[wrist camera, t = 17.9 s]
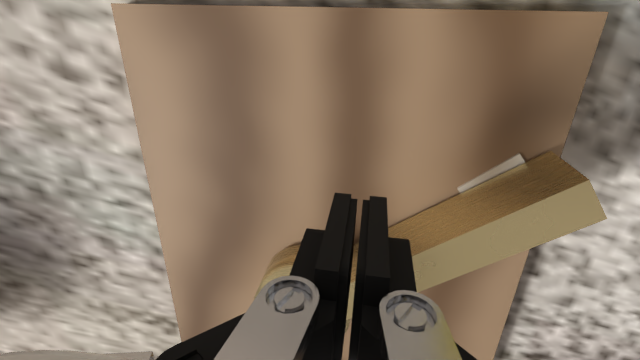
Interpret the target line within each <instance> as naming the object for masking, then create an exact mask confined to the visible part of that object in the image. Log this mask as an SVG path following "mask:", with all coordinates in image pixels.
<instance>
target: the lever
mask: <svg viewBox="0 0 640 360" xmlns="http://www.w3.org/2000/svg"><path fill="white" fill-rule="evenodd" d="M605 219H607V217H606V215H605V213H604V211H603V209H602V207H601V204H600V202H599V200H598V198H597V196H596V194H595V191H594V189H593V187H592V185H591V183H590V181H589V179H587V178H586V177H585V176H583V175H582V174H581V173H580V172H578V171H577V170H576V169H574V168H573V167H572V166H570V165H569V164H568V163H566V162H565V161H564V160H562V159H561V158H560V157H559V156H557V155H556V154H555V153H553V152H552V151H549V152H547V153H545V154H543V155H541V156H539V157H536V158H534V159H532V160H530V161H528V162H526V163H524V164H522V165H520V166H518V167H515V168H513V169H511V170H509V171H507V172H505V173H503V174H501V175H499V176H497V177H494V178H492V179H490V180H488V181H486V182H484V183H482V184H480V185H478V186H476V187H473V188H471V189H469V190H467V191H465V192H463V193H461V194H459V195H457V196H455V197H453V198H450V199H448V200H446V201H444V202H442V203H440V204H438V205H436V206H434V207H432V208H429V209H427V210H425V211H423V212H421V213H419V214H417V215H415V216H413V217H411V218H408V219H406V220H404V221H402V222H400V223H398V224H396V225H394V226H392V227H390V228H388V237H392V238H401V239H409V241H410V247H411V254H412V261H413V268H414V275H415V283H416V290H417V293H418V292H420V291H423V290H425V289H428V288H430V287H433V286H436V285H438V284H441V283H443V282H446V281H448V280H451V279H454V278H456V277H459V276H461V275H464V274H466V273H469V272H472V271H474V270H477V269H479V268H482V267H484V266H487V265H489V264H492V263H495V262H497V261H500V260H502V259H505V258H507V257H510V256H513V255H515V254H518V253H520V252H523V251H525V250H528V249H531V248H533V247H536V246H538V245H541V244H543V243H546V242H549V241H551V240H554V239H556V238H559V237H561V236H564V235H566V234H569V233H572V232H574V231H577V230H579V229H582V228H584V227H587V226H590V225H592V224H595V223H597V222H600V221H602V220H605ZM358 246H359V242H358V243H356V244H354V249H353V261H352V272H351V282H350V291H349V299H348V308H347V317H346V326H345V333H346V331H347V329H348V327H349V323H350V319H351V318H352V312H353V301H354V290H355V279H356V268H357V257H358ZM299 247H300V245H296V246H291V247H288V248H285V249H283V250H281V251H280V252H278V253H277V254H276V255H275V256H274V257H273V258H272V259H271V261H270V263H269V265H268V267H267V269H266V272H265V274H264V276H263V278H262V281H261V283H260V285H259V287H258V290H257V292H256V294H255V297H254V299H255V298H256V296H257V295H258V294H259V292H260V291H261V289H262V288H263V287H264V286H265V285H266V284H267V283H268V282H270V281H271V280H273V279H276V278H279V277H282V276H289V275H290V272H291V269H292V267H293V264H294V261H295V258H296V255H297V253H298V250H299Z"/></svg>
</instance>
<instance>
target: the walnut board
mask: <svg viewBox="0 0 640 360" xmlns="http://www.w3.org/2000/svg"><path fill="white" fill-rule="evenodd" d="M111 6H112V11H113V16H114V20H115V25H116V30H117V35H118V40H119V44H120V49H121V54H122V59H123V63H124V68H125V73H126V78H127V83H128V87H129V92H130V97H131V102H132V106H133V111H134V116H135V121H136V126H137V130H138V135H139V140H140V145H141V149H142V154H143V159H144V164H145V169H146V173H147V178H148V183H149V188H150V192H151V197H152V202H153V207H154V212H155V216H156V221H157V226H158V231H159V235H160V240H161V245H162V250H163V255H164V259H165V264H166V269H167V274H168V278H169V283H170V288H171V293H172V298H173V302H174V307H175V312H176V317H177V322H178V326H179V331H180V336H181V341H182V342H183V341H185V340H188V339H190V338H192V337H194V336H196V335H198V334H201V333H203V332H205V331H207V330H209V329H211V328H213V327H216V326H218V325H220V324H222V323H224V322H226V321H229V320H231V319H233V318H235V317H237V316H239V315H241V314H244V313H246V311H247V310H248V308H249V307H250V305H251V304H252V302H253V301H254V297H255V294H256V292H257V290H258V287H259V285H260V283H261V281H262V278H263V276H264V274H265V272H266V269H267V267H268V265H269V263H270V261H271V259H272V258H273V257H274V256H275V255H276V254H277V253H278V252H280V251H281V250H283V249H285V248H288V247H291V246H296V245H300V244H301V242H302V239H303V236H304V233H305V231H306V229H307V228H310V229H319V230H325V228H326V224H327V220H328V216H329V213H330V209H331V205H332V201H333V198H334V194H335V193H346V194H351V198H352V199H358V200H357V213H356V225H355V237H354V244H356V243H358V242H359V236H360V225H361V215H362V204H363V200H369V199H370V196H377V197H387V214H388V228H390V227H392V226H394V225H396V224H398V223H400V222H402V221H404V220H406V219H408V218H411V217H413V216H415V215H417V214H419V213H421V212H423V211H425V210H427V209H429V208H432V207H434V206H436V205H438V204H440V203H442V202H444V201H446V200H448V199H450V198H453V197H455V196H457V195H459V194H461V193H463V192H465V191H467V190H469V189H471V188H473V187H476V186H478V185H480V184H482V183H484V182H486V181H488V180H490V179H492V178H494V177H497V176H499V175H501V174H503V173H505V172H507V171H509V170H511V169H513V168H515V167H518V166H520V165H522V164H524V163H526V162H528V161H530V160H532V159H534V158H536V157H539V156H541V155H543V154H545V153H547V152H549V151H552V152H553V153H555V154H556V155H557V156H559V157H561V154H562V151H563V148H564V145H565V142H566V139H567V136H568V133H569V130H570V127H571V124H572V121H573V118H574V115H575V112H576V109H577V106H578V103H579V100H580V97H581V94H582V91H583V88H584V85H585V82H586V79H587V76H588V73H589V70H590V67H591V64H592V60H593V57H594V54H595V51H596V48H597V45H598V42H599V39H600V36H601V33H602V30H603V27H604V24H605V21H606V18H607V15H608V12H584V11H525V10H466V9H407V8H348V7H289V6H230V5H172V4H113V3H111ZM529 250H530V249H528V250H525V251H523V252H520V253H518V254H515V255H513V256H510V257H507V258H505V259H502V260H500V261H497V262H495V263H492V264H489V265H487V266H484V267H482V268H479V269H477V270H474V271H472V272H469V273H466V274H464V275H461V276H459V277H456V278H454V279H451V280H448V281H446V282H443V283H441V284H438V285H436V286H433V287H430V288H428V289H425V290H423V291H420V292H418V293H420V294H423V295H425V296H426V297H428V298H430V299H432V300H433V301H434V302H435V303H436V304H437V305H438V306H439V308H440V309H441V311H442V313H443V315H444V317H445V320H446V322H447V325H448V327H449V329H450V332H451V334H452V337H453V339H454V341H455V342H456V343H457V344H458V345H459V346H461V347H462V348H463V349H465V350H466V351H467V352H468V353H470V354H471V355H472V356H473V357H475V358H476V359H477V360H493V358H494V355H495V352H496V349H497V346H498V343H499V340H500V337H501V334H502V331H503V328H504V325H505V322H506V319H507V316H508V313H509V310H510V307H511V304H512V301H513V298H514V295H515V292H516V289H517V286H518V283H519V280H520V277H521V274H522V271H523V268H524V265H525V262H526V259H527V256H528V253H529ZM351 323H352V318H351V319H350V323H349V327H348V329H347V331H346V333H345V335H344V344H343V353H342V360H348V357H349V346H350V334H351Z"/></svg>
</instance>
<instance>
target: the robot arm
mask: <svg viewBox="0 0 640 360" xmlns="http://www.w3.org/2000/svg"><path fill="white" fill-rule="evenodd" d="M357 200H358V199H352V198H351V194H346V193H335V194H334V198H333V201H332V205H331V209H330V213H329V216H328V220H327V224H326V228H325V230H319V229H310V228H307V229H306V231H305V233H304V236H303V239H302V242H301V244H300V247H299V250H298V253H297V255H296V258H295V261H294V264H293V267H292V269H291V272H290V275H289V276H282V277H279V278H276V279H273V280H271V281H270V282H268V283H267V284H266V285H265V286H264V287H263V288H262V289H261V291H260V292H259V294H258V295H257V296H256V298H255V299H254V301H253V302H252V304H251V305H250V307H249V308H248V310H247V311H246V313H244V314H241V315H239V316H237V317H235V318H233V319H231V320H229V321H226V322H224V323H222V324H220V325H218V326H216V327H213V328H211V329H209V330H207V331H205V332H203V333H201V334H198V335H196V336H194V337H192V338H190V339H188V340H185V341H183V342H181V343H179V344H177V345H175V346H173V347H171V348H169V349H168V350H166V351H164V352H163V353H162V354H161V355H160V356H155V357H154V356H153V352H152V351H149V352H131V353H112V354H97V353H87V352H77V351H59V350H36V351H21V352H9V353H3V354H0V360H342V353H343V344H344V335H345V326H346V317H347V308H348V299H349V291H350V282H351V272H352V261H353V249H354V237H355V225H356V213H357ZM348 360H477V359H476V358H475V357H473V356H472V355H471V354H470V353H468V352H467V351H466V350H465V349H463V348H462V347H461V346H459V345H458V344H457V343H456V342H455V341H454V339H453V337H452V334H451V332H450V329H449V327H448V325H447V322H446V320H445V317H444V315H443V313H442V311H441V309H440V308H439V306H438V305H437V304H436V303H435V302H434V301H433V300H432V299H430V298H428V297H426V296H425V295H423V294H420V293H417V290H416V283H415V275H414V268H413V261H412V254H411V247H410V241H409V239H401V238H392V237H388V214H387V197H377V196H370V199H369V200H363V204H362V215H361V225H360V236H359V246H358V257H357V268H356V279H355V290H354V301H353V312H352V323H351V334H350V346H349V357H348Z"/></svg>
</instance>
